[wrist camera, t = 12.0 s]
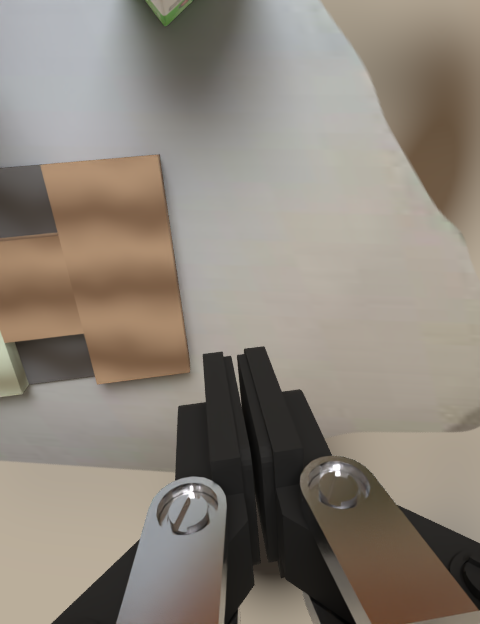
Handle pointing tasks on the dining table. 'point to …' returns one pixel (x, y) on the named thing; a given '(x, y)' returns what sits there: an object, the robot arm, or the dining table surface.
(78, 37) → the dining table surface
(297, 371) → the dining table surface
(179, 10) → the ink box
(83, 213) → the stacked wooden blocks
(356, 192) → the dining table surface
